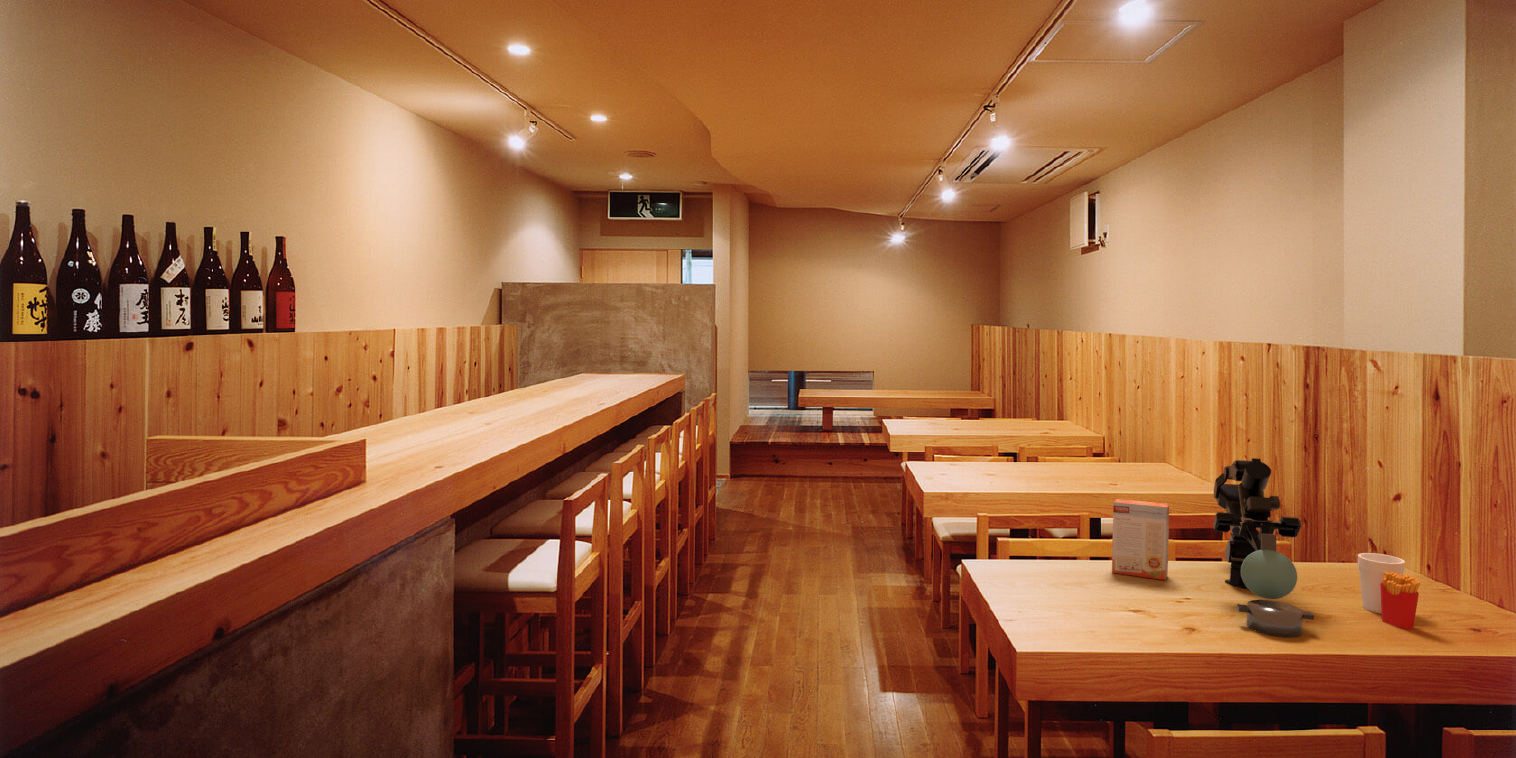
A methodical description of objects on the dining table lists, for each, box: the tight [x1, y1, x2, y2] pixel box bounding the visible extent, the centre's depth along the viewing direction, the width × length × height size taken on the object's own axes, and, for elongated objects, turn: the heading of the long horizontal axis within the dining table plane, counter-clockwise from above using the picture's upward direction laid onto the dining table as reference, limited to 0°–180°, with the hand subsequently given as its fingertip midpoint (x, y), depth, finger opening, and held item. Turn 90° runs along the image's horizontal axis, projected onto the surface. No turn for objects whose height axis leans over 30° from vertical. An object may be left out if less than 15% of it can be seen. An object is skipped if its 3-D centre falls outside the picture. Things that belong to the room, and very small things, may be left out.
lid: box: [1241, 533, 1298, 600], centre depth 196 cm, size 15×12×1 cm
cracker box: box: [1111, 498, 1170, 581], centre depth 230 cm, size 14×6×21 cm, turn 58°
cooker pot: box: [1236, 599, 1315, 638], centre depth 190 cm, size 12×15×5 cm
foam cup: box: [1357, 552, 1406, 614], centre depth 202 cm, size 10×9×13 cm
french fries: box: [1380, 572, 1421, 630], centre depth 192 cm, size 8×4×12 cm, turn 9°
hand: (1260, 553), depth 204 cm, fingers closed
